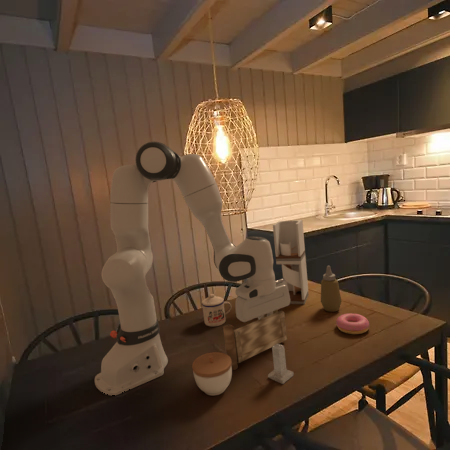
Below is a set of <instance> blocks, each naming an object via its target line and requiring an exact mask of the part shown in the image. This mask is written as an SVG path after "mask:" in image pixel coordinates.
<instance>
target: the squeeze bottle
mask: <svg viewBox="0 0 450 450" xmlns="http://www.w3.org/2000/svg"><path fill="white" fill-rule="evenodd" d="M331 268H332V267H331V266H330V265H327V266H326V270H325V273H324V274H322V276H323V277H322V280H320V303H321V306H322V308H323V310H324V311H326V312H331V313H333V312H338V311H339V310H340V307H341V304H342V297H341V296H342V295H341V292H340V291H341V290H340V286H339V281H338V280H337V279H336V274H335V273H333V272H332V269H331Z"/></svg>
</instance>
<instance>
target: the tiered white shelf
mask: <svg viewBox="0 0 450 450" xmlns="http://www.w3.org/2000/svg"><path fill="white" fill-rule="evenodd" d="M272 231H273V243H274V253H275V254H274V255H275V261H276V262H275V263H276V265H281V270H282V271H281V272H282V279H283V280H286V282H287V288H288V291H289V295H290V304H289V305H306V301H307V299H308V298H309V284H308V283H309V282H308V281H309V280H308V273H307V272H308V270H307V257H306V247H305V246H306V245H305V237H304V224H303V219H297V220H295V219H293V220H279V221H277V222H276V223H274V224H272Z"/></svg>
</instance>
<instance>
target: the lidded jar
mask: <svg viewBox="0 0 450 450" xmlns="http://www.w3.org/2000/svg"><path fill="white" fill-rule="evenodd" d="M191 368H192V372H193V373H192V374H193V377H194V380H195V383H196V386H197V387H198V388H199V389H200V390H201V391H202V392H204V393H205V394H206V395H208V396H212V397H213V396H214V397H215V396H219V395H221V394H223V393H225V391H226V389H227V388H228V386H230V383H231V381H232V376H233V370H232V361H231V358H230V357H229V356H228V355H227V354H226V352H219V351H213V352H206V353H204V354H202V355H201V354H200V355H199V356H197V358H195V359H194V360H193V362H192V365H191Z"/></svg>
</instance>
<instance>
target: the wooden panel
mask: <svg viewBox="0 0 450 450" xmlns="http://www.w3.org/2000/svg"><path fill="white" fill-rule="evenodd" d="M233 330H234V339H235V347H236V356H237V364H240V363H243V362H244V361H247V360H249V359H250V358H252V357H255V356H256V355H259V354H260V353H262V352H264V351H267V350H268V349H272V347H273V346H274V345H276V344H277V343H278V344H281V343H283V342H285V341H287V339H288V338H287V327H286V315H285V311H283V310H279V311H278V312H276V313H274V314H272V315H269V316H267V317H264V318H262V319H260V320H259V319H257V320H255V321H252V322H250V323H248V324H246V325H243V326H240V327H239V328H236V329H233Z"/></svg>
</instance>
